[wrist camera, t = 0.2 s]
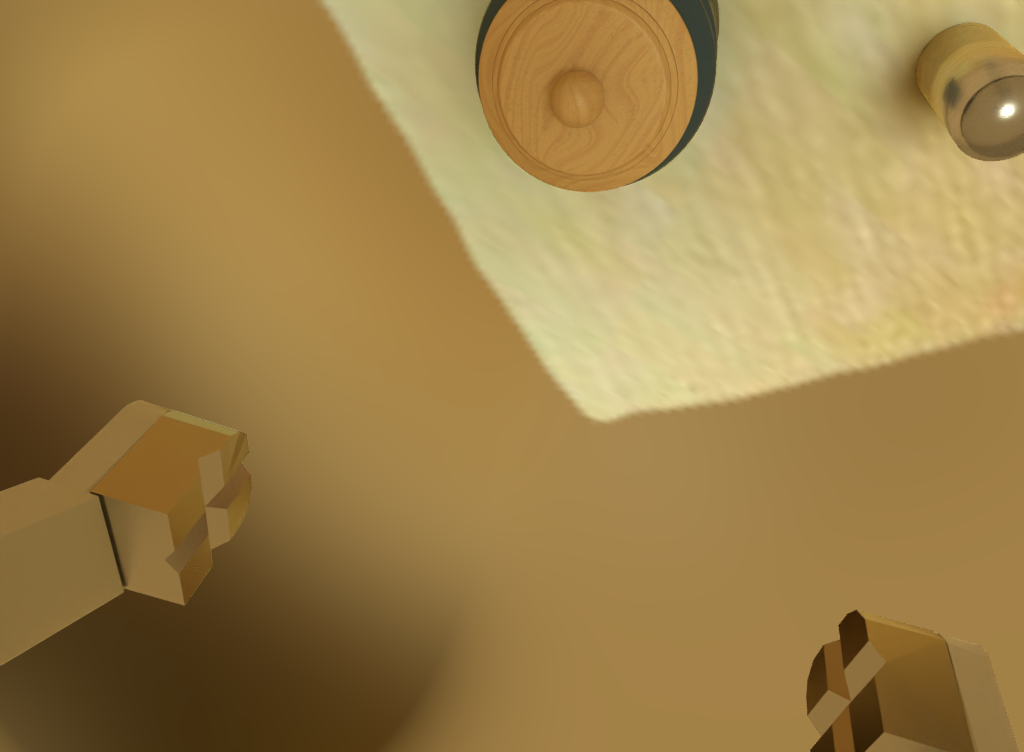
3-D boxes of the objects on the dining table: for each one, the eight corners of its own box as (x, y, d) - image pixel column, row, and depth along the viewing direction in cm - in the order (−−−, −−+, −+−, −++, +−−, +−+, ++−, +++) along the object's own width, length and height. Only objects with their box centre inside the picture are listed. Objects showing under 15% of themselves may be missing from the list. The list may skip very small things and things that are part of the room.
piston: (941, 13, 45) (988, 58, 37) (1021, 34, 45) (1086, 84, 37) (900, 93, 48) (935, 150, 40) (975, 113, 48) (1026, 176, 40)
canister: (605, 161, 55) (563, 277, 42) (482, 18, 51) (391, 93, 38) (761, 35, 48) (772, 124, 34) (632, -143, 44) (586, -122, 31)
